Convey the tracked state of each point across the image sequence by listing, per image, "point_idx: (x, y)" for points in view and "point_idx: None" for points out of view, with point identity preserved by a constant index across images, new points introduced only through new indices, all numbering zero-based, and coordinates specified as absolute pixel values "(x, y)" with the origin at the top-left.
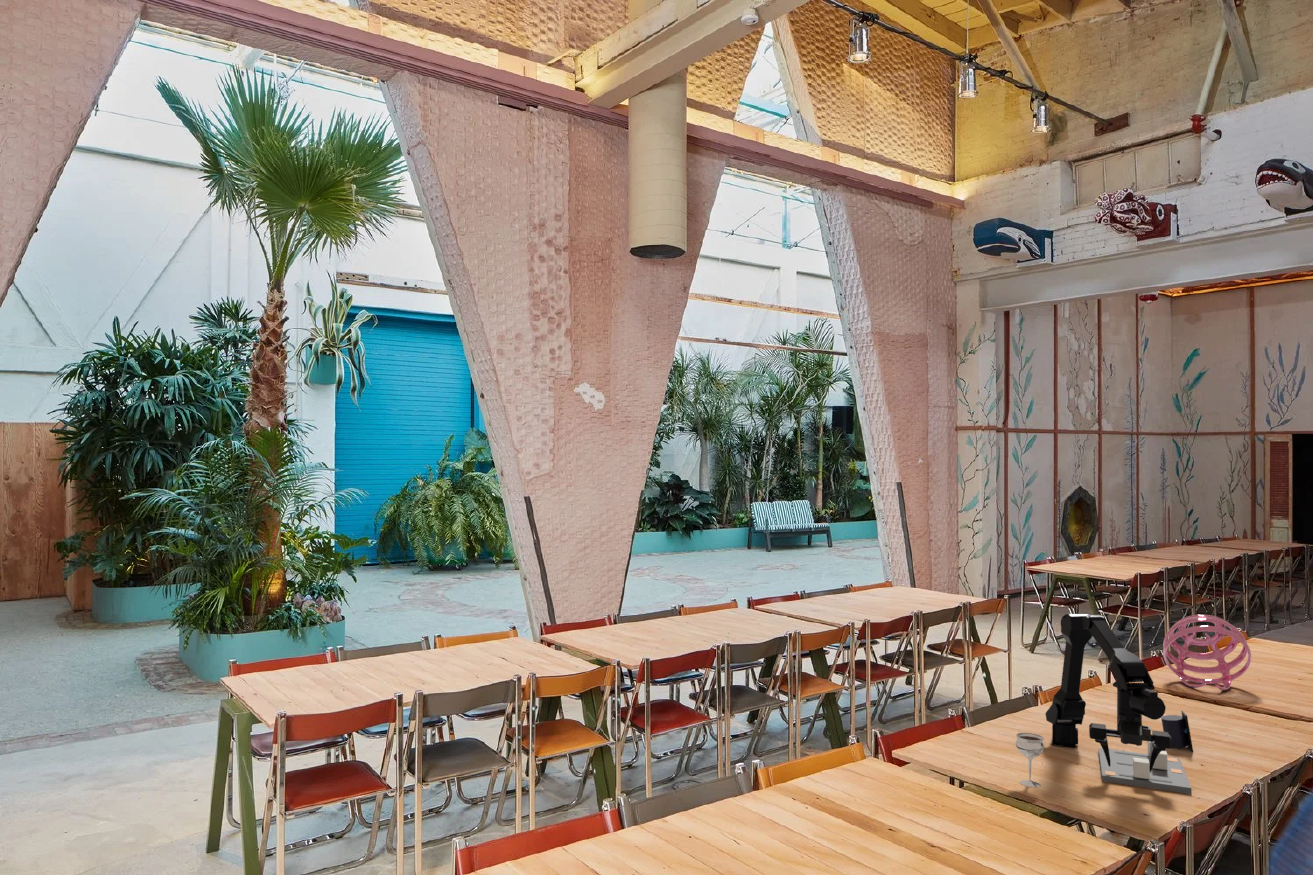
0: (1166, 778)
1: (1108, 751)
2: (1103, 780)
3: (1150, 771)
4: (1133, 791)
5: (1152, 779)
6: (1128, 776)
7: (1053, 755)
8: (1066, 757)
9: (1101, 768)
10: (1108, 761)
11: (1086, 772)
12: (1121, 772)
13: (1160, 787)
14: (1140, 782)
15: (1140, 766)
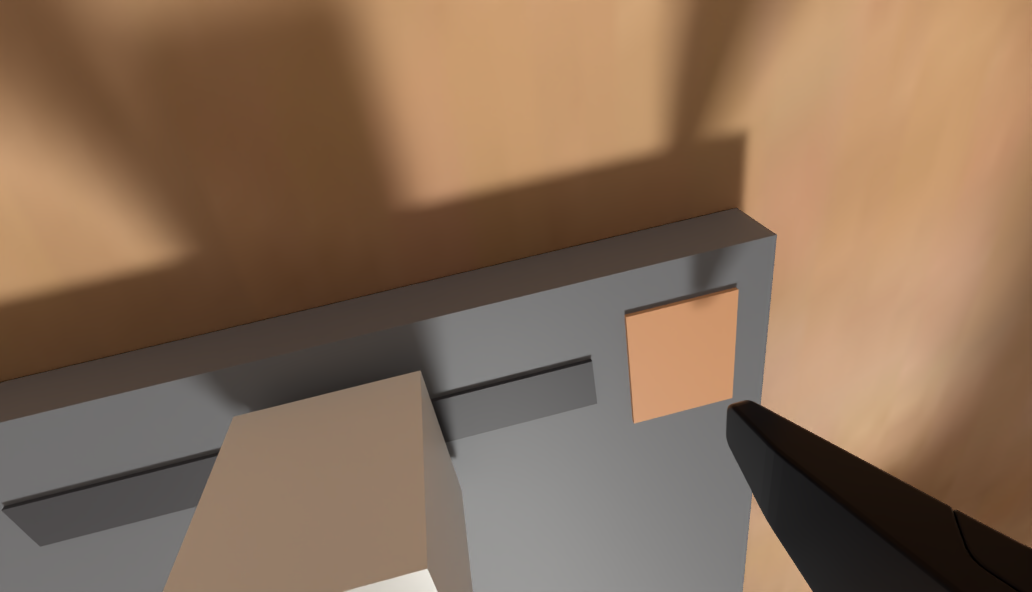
0: (141, 579)
1: (953, 578)
2: (728, 212)
3: None
4: (363, 48)
5: None
6: (491, 386)
7: (994, 527)
8: None
9: None
10: (795, 436)
11: (847, 358)
12: (573, 456)
13: (119, 368)
14: (338, 326)
15: (323, 521)
